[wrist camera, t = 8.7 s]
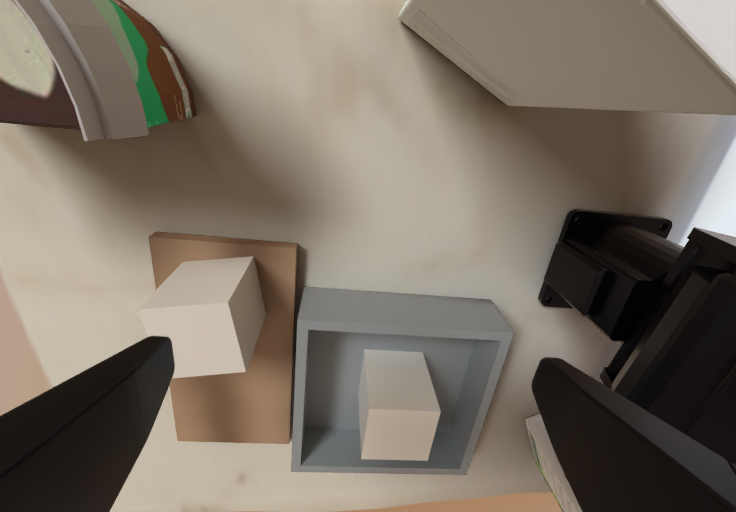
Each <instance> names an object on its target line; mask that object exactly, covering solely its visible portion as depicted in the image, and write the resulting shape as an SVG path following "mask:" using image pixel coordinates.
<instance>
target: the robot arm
mask: <svg viewBox="0 0 736 512" xmlns="http://www.w3.org/2000/svg"><path fill="white" fill-rule="evenodd" d="M578 215H579V218H578V219H577V220H576V221H574V220H575V217H576V216H578ZM662 224H663V225H662ZM661 225H662V227H661V228H660V226H661ZM671 228H672V222H671V221H670V220H668V219H665V218H662V217H653V216H643V215H633V214H623V213H613V212H603V211H593V210H583V209H574V210H572V211H571V212H569V213H568V215H567V217H566V220H565V223H564V226H563V229H562V232H561V234H560V237H559V240H558V243H557V244H556V246H555V249H554V252H553V255H552V257H551V260H550V263H549V266H548V269H547V272H546V275H545V277H544V279H545V280H544V283H543V285H542V288H541V291H540V294H539V298H538V299H539V301H540V302H541V303H542V304H543V305H544V306H549V307H563V308H574V309H575V310H576V311H578V312H579V313H580V314H581V315H582V316H586V317H587V318H588V319H589V320H590V321H591V322H592V323H593V324H594V325H595V326H597V327H598V328H599V329H600V330H601V331H602V332H603V333H604V334H605V335H606V336H607V337H608V338H610V339H611V340H613V341H619V342H620V343H621V344H622V346H621V347H620V349H619V350H618V352H617V353H616V355H615V356H614V358H613V360H612V361H611V363H610V364H609V366H608V367H605V368H604V370H603V371H602V373H601V374H600V378H601V380H602V382H603V384H604V385H603V384H601V383H600V382H598V381H597V380H595V379H593V378H592V377H590V376H588V375H587V374H585V373H583V372H582V371H580V370H578V369H577V368H575V367H573V366H572V365H570V364H569V363H567V362H565V361H564V360H562V359H559V358H549V357H545V358H543V359H542V360H541V361H540V363H539V365H538V368H537V370H536V373H535V376H534V378H533V381H532V392H533V395H534V397H535V400H536V403H537V406H538V409H539V411H540V414H541V417H542V420H543V423H544V425H545V428H546V431H547V434H548V437H549V439H550V442H551V445H552V447H553V450H554V452H555V454H556V457H557V459H558V461H559V463H560V465H561V468H562V470H563V472H564V474H565V476H566V478H567V480H568V482H569V485H570V487H571V489H572V491H573V493H574V495H575V497H576V500H577V502H578V504H579V506H580V508H581V510H582V512H736V237H732V236H728V235H724V234H720V233H716V232H712V231H708V230H704V229H700V228H695V227H694V228H693V230H692V231H691V233H690V234H689V236H688V237H687V238H688V239H689V241H688V242H687V244H686V245H685V247H682V246H680V245H678V244H675V243H673V242H671V241H669V240H667V239H666V238H667V236H668V234H669V232H670V230H671ZM549 296H550V297H549ZM547 297H549V298H548V299H547V300H545V299H546V298H547ZM174 369H175V363H174V355H173V347H172V341H171V339H170V338H169V337H166V336H149V337H147V338H145V339H143V340H141V341H139V342H138V343H136V344H134V345H132V346H130V347H128V348H126V349H124V350H123V351H121V352H119V353H117V354H115V355H113V356H111V357H110V358H108V359H106V360H104V361H102V362H100V363H98V364H96V365H95V366H93V367H91V368H89V369H87V370H85V371H83V372H81V373H80V374H78V375H76V376H74V377H72V378H70V379H68V380H67V381H65V382H63V383H61V384H59V385H57V386H55V387H53V388H52V389H50V390H48V391H46V392H44V393H42V394H41V395H39V396H37V397H35V398H33V399H31V400H29V401H27V402H25V403H24V404H22V405H20V406H18V407H16V408H14V409H12V410H10V411H9V412H7V413H5V414H3V415H1V416H0V512H109V511H110V509H111V508H112V506H113V504H114V502H115V500H116V498H117V496H118V494H119V492H120V491H121V489H122V487H123V485H124V483H125V481H126V479H127V477H128V475H129V474H130V472H131V470H132V468H133V466H134V464H135V462H136V460H137V458H138V457H139V455H140V453H141V451H142V449H143V447H144V445H145V443H146V441H147V439H148V436H149V434H150V432H151V429H152V427H153V425H154V422H155V420H156V417H157V415H158V412H159V410H160V407H161V405H162V402H163V400H164V397H165V395H166V392H167V390H168V387H169V385H170V382H171V380H172V377H173V374H174Z"/></svg>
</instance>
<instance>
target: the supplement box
mask: <svg viewBox="0 0 736 512" xmlns="http://www.w3.org/2000/svg"><path fill="white" fill-rule="evenodd" d="M398 18H399V19H400V20H401V21H402V22H403V23H404V24H406V25H407V26H408V27H409V28H411V29H412V30H413V31H414V32H416V33H417V34H418V35H419V36H421V37H422V38H423V39H424V40H426V41H427V42H428V43H430V44H431V45H432V46H433V47H435V48H436V49H437V50H438V51H439V52H441V53H442V54H443V55H444V56H446V57H447V58H448V59H450V60H451V61H452V62H453V63H455V64H456V65H457V66H458V67H459V68H461V69H462V70H463V71H465V72H466V73H467V74H468V75H470V76H471V77H472V78H473V79H475V80H476V81H477V82H478V83H480V84H481V85H482V86H483V87H485V88H486V89H487V90H488V91H490V92H491V93H492V94H493V95H495V96H496V97H497V98H498V99H500V100H501V101H502V102H504V103H505V104H506V105H508V106H527V107H552V108H579V109H596V110H619V111H645V112H675V113H700V114H720V115H736V0H407V1H406V2H405V4H404V6H403V8H402V10H401V11H400V13H399V15H398Z"/></svg>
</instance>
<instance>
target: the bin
mask: <svg viewBox="0 0 736 512" xmlns="http://www.w3.org/2000/svg"><path fill="white" fill-rule="evenodd" d="M513 335H514V332H513V331H512V329H511V328H510V326H509V325H508V324H507V322H506V321H505V319H504V318H503V316H502V315H501V314H500V312H499V311H498V309H497V308H496V307H495V305H494V304H493V302H492V301H491V300H485V299H471V298H457V297H442V296H428V295H414V294H399V293H385V292H371V291H357V290H342V289H328V288H314V287H304V290H303V295H302V300H301V305H300V310H299V314H298V319H297V341H296V365H295V389H294V414H293V438H292V462H291V472H332V473H388V474H443V475H466V474H467V471H468V468H469V465H470V462H471V459H472V456H473V453H474V450H475V447H476V444H477V441H478V438H479V435H480V433H481V430H482V427H483V424H484V421H485V418H486V415H487V412H488V409H489V406H490V403H491V400H492V397H493V394H494V391H495V388H496V385H497V382H498V379H499V376H500V373H501V370H502V367H503V364H504V361H505V359H506V356H507V353H508V350H509V347H510V344H511V341H512V338H513ZM364 349H368V350H387V351H405V352H423V355H424V358H425V361H426V365H427V368H428V371H429V375H430V378H431V381H432V384H433V388H434V391H435V394H436V398H437V401H438V404H439V407H440V411H441V413H440V416H439V420H438V424H437V428H436V431H435V435H434V439H433V443H432V446H431V450H430V454H429V458H428V461H419V460H374V459H361V443H360V422H359V400H358V392H359V385H360V378H361V370H362V363H363V356H364Z"/></svg>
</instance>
